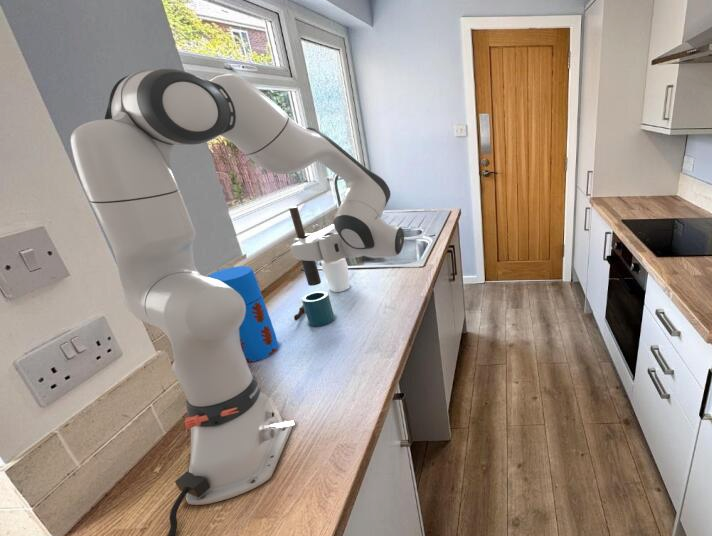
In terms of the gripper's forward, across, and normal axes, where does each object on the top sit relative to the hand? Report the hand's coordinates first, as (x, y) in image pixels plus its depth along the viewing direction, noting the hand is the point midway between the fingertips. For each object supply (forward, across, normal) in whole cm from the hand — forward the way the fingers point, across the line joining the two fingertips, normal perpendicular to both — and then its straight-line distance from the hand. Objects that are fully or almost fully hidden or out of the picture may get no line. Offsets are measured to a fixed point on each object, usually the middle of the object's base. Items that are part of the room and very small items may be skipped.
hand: (299, 239), depth 109 cm
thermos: (+17, +8, +32) cm, 38 cm away
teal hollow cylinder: (+10, -11, +32) cm, 35 cm away
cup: (+18, -35, +32) cm, 51 cm away
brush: (-1, 0, +13) cm, 13 cm away
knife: (+20, -16, +32) cm, 41 cm away
